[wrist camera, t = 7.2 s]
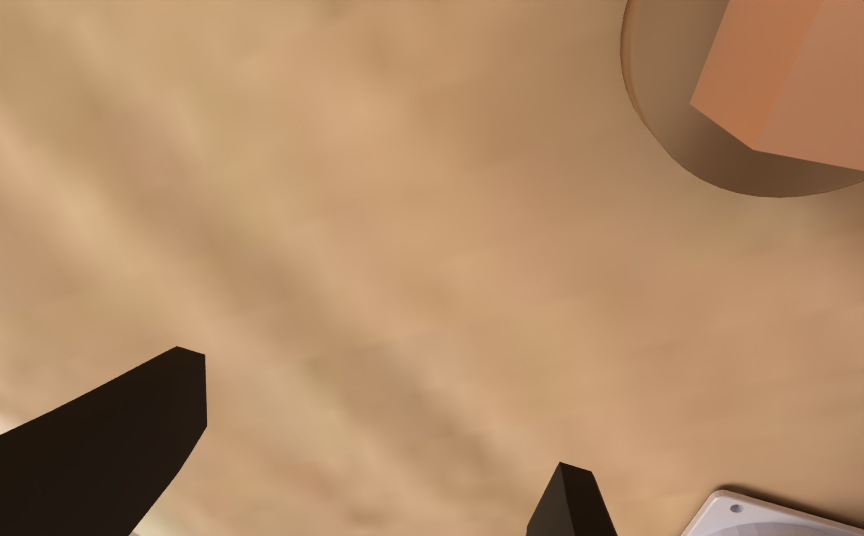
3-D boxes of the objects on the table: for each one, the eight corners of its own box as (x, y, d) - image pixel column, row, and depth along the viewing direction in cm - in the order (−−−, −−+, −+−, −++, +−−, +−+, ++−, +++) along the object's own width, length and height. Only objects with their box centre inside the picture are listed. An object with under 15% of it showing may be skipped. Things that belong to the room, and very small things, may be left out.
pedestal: (1033, -128, 12) (1172, -162, 9) (836, 190, 16) (893, 229, 13) (687, -188, 12) (726, -237, 10) (582, 132, 16) (589, 158, 14)
